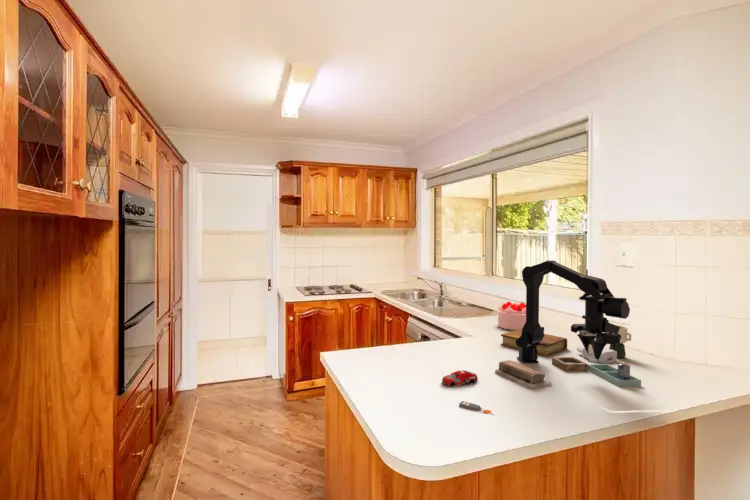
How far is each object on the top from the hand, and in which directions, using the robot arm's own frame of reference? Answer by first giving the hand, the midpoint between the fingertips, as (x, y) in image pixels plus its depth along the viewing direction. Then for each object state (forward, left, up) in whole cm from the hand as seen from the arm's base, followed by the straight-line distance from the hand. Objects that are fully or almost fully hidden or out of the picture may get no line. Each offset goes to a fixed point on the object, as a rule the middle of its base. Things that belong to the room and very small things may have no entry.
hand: (593, 357), depth 133 cm
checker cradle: (0, +14, -9) cm, 17 cm away
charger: (+18, +27, -9) cm, 34 cm away
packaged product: (-24, +4, -9) cm, 26 cm away
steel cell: (0, 0, -2) cm, 2 cm away
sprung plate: (0, +14, -9) cm, 17 cm away
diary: (+1, +44, -9) cm, 45 cm away
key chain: (-48, -20, -9) cm, 53 cm away
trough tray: (+9, +2, -9) cm, 13 cm away
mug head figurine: (+30, +27, -9) cm, 41 cm away
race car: (-48, +2, -9) cm, 49 cm away
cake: (+11, +84, -9) cm, 85 cm away
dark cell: (+9, -3, -8) cm, 13 cm away
